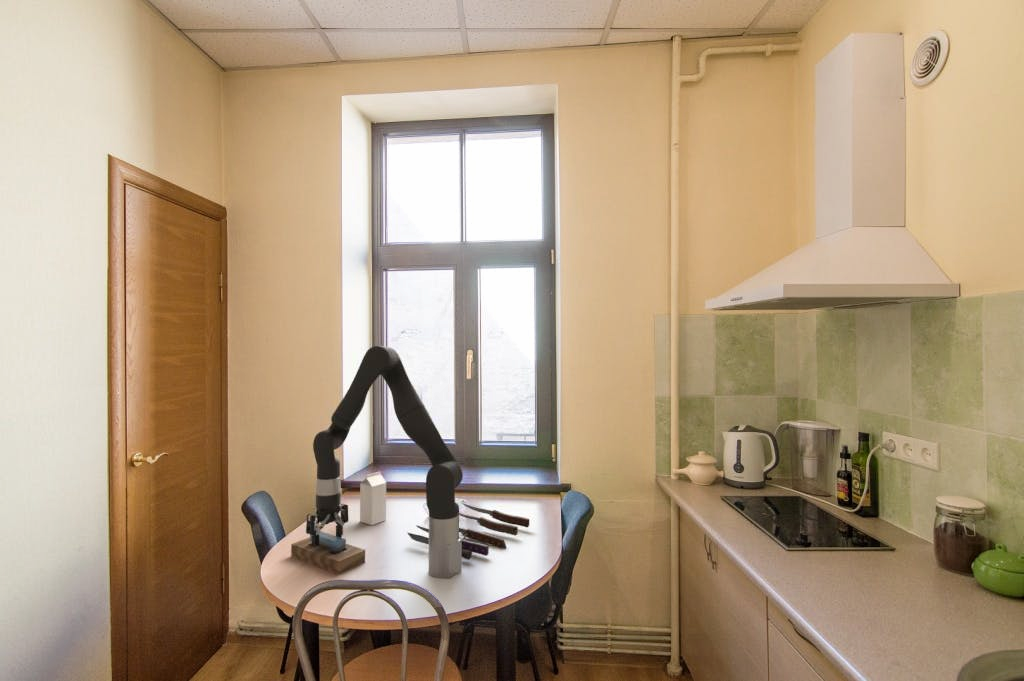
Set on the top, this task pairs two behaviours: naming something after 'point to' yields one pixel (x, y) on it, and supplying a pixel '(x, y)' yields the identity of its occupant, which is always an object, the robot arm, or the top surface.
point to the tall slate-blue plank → (331, 542)
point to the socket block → (328, 556)
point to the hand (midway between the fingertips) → (327, 541)
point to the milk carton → (373, 499)
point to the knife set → (479, 536)
